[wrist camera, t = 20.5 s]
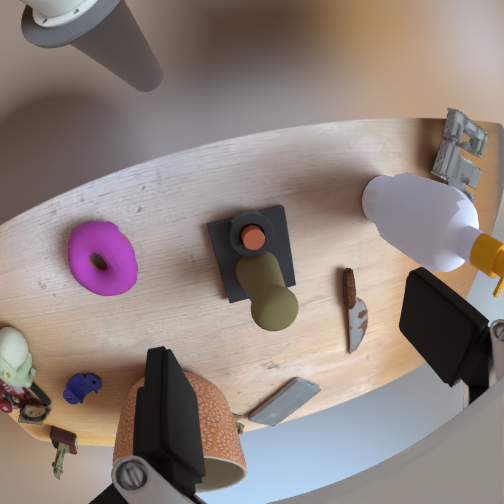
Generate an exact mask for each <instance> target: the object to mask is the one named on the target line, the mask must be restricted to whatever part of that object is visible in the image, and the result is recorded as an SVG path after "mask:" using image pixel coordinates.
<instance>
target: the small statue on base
mask: <svg viewBox="0 0 504 504" xmlns="http://www.w3.org/2000/svg"><path fill="white" fill-rule="evenodd" d="M50 437H51V440H52V443H53V445H54V447H55V448H57V454H56V459H55V462H53V463H52V466H53V467H54V476H55V477H56V478H58V479H60V475H61V474H62V473H63V471H62V470H61V469H62V468H63V467H62V465H63V458H64V454H65V453H71V454H75V455H76V454H77V449H78V447H77V439H76V434H73V433H70V432H68V431H65V430H62V429H59V428H56V427H54V426H52V427H51V431H50Z"/></svg>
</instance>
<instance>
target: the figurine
mask: <svg viewBox="0 0 504 504" xmlns="http://www.w3.org/2000/svg"><path fill="white" fill-rule="evenodd" d="M31 363H32V355H31V353H30V352H29V351H28V347H27V343H26V340H25V338H24V337H23V335H22V334H21V333H20V332H19V331H18V330H17V329H15V328H13V327H5V328H3V329H1V330H0V378H1V379H2V380H3V381H4V382H5V383H7V384H9V385H11V386H14V387H25V388H29V387H30V386H31V385H32V381H33V377H34V376H35V373H36V372H37V370H34V369H35V367H34V368H32V366H31ZM30 367H31V369H30ZM29 370H30V374H28V372H29Z"/></svg>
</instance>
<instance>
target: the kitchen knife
mask: <svg viewBox="0 0 504 504" xmlns="http://www.w3.org/2000/svg"><path fill="white" fill-rule="evenodd" d="M343 285H344V298H345V302H344V304H345V306H346V308H348V323H349V345H350V347H349V354H351V353H352V352H353V351H355V350H356V349H357V348H358V346H359V344H360V343H361V341H362V339H363V337H364V335H365V332H366V329H367V323H368V311H367V308H366V305H365V303H364V302H363V301H362V300H361V299H358V298H355V296H356V289H355V279H354V275H353V270H352V269H351V268H346V269H345V271H344V280H343Z"/></svg>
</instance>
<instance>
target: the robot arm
mask: <svg viewBox="0 0 504 504" xmlns="http://www.w3.org/2000/svg"><path fill="white" fill-rule="evenodd" d="M21 1H22V2H24V3H26V4H27V5H29V6H30V7H32V8H33V18H34V21H35V22H36V23H37V24H38V25H40V26H42V27H44V28H55V27H59V26H63V25H65V24H67V23H69V22H71V21H73V20H75V19H77V18H78V17H80V16H81V15H82V14H84V13H85V12H86V11H87V10H89V9H90V8H91V7H92V6H93V5H94V4H95V3H96V2H97V1H98V0H21ZM488 323H489V320H488V319H487V318H485V317H484V316H483V315H482V314H481V313H480V312H479V311H478V310H476V309H475V308H474V307H473V306H472V305H470V304H469V303H468V302H467V301H466V300H465V299H463V298H462V297H461V296H460V295H459V294H457V293H456V292H455V291H454V290H452V289H451V288H450V287H449V286H447V285H446V284H445V283H444V282H442V281H441V280H440V279H438V278H437V277H436V276H434V275H433V274H432V273H431V272H429V271H428V270H427V269H425V268H424V267H420V268H417V269H415V270H412V271H410V273H409V275H408V277H407V279H406V287H405V293H404V300H403V306H402V311H401V317H400V322H399V328H400V331H401V333H402V334H403V335H404V336H405V337H406V338H407V339H408V341H409V342H410V343H411V344H412V345H413V346H414V347H415V349H416V350H417V351H418V352H419V353H420V354H421V356H422V357H423V358H424V359H425V360H426V361H427V363H428V364H429V365H430V366H431V367H432V369H433V370H434V371H435V372H436V373H437V375H438V376H439V377H440V378H441V380H442V381H443V382H444V383H448V384H449V386H450V387H451V388H452V387H453V386H454V385H456V384H457V383H458V382H459V381H460V380H461V379H462V380H463V382H464V402H463V411H461V412H460V413H459V414H458V415H456V416H455V417H454V418H452V419H451V420H450V421H448V422H447V423H445V424H444V425H443V426H441V427H440V428H438V429H437V430H435V431H434V432H432V433H431V434H429V435H428V436H426V437H425V438H423V439H422V440H420V441H419V442H417V443H415V444H413V445H412V446H410V447H409V448H407V449H405V450H403V451H402V452H400V453H398V454H396V455H394V456H392V457H391V458H389V459H387V460H385V461H383V462H381V463H379V464H377V465H375V466H373V467H371V468H369V469H367V470H364V471H362V472H360V473H358V474H355V475H353V476H351V477H348V478H346V479H343V480H341V481H338V482H336V483H333V484H330V485H328V486H325V487H322V488H319V489H317V490H313V491H310V492H307V493H304V494H301V495H297V496H294V497H291V498H286V499H283V500H279V501H275V502H271V503H267V504H504V320H503V319H498V320H495V321H493V322H492V323H491V325H490V328H489V327H488V326H487V325H488ZM205 476H206V469H205V462H204V454H203V447H202V438H201V430H200V421H199V411H198V400H197V395H196V393H195V391H194V389H193V387H192V386H191V384H190V382H189V381H188V379H187V377H186V375H185V374H184V372H183V370H182V369H181V367H180V365H179V363H178V361H177V360H176V358H175V356H174V354H173V352H172V351H171V349H167V350H166V348H165V347H164V346H161V347H156V348H151V349H148V352H147V360H146V369H145V379H144V386H141V387H139V388H138V390H137V395H136V406H135V418H134V433H133V456H131V455H130V456H125V457H123V458H121V459H119V460H118V461H117V462H116V463H115V464H114V466H113V469H112V473H111V477H112V482H113V483H112V484H111V485H110V486H109V487H107V488H106V489H105V490H104V491H103V492H102V493H101V494H100V495H98V496H97V497H96V498H95V499H94V500H93V501H91V502H90V503H89V504H207V503H206V502H204V501H203V500H202V499H200V498H199V497H198V496H197V495H195V493H196V488H195V484H202V483H203V481H202V477H205Z"/></svg>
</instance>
